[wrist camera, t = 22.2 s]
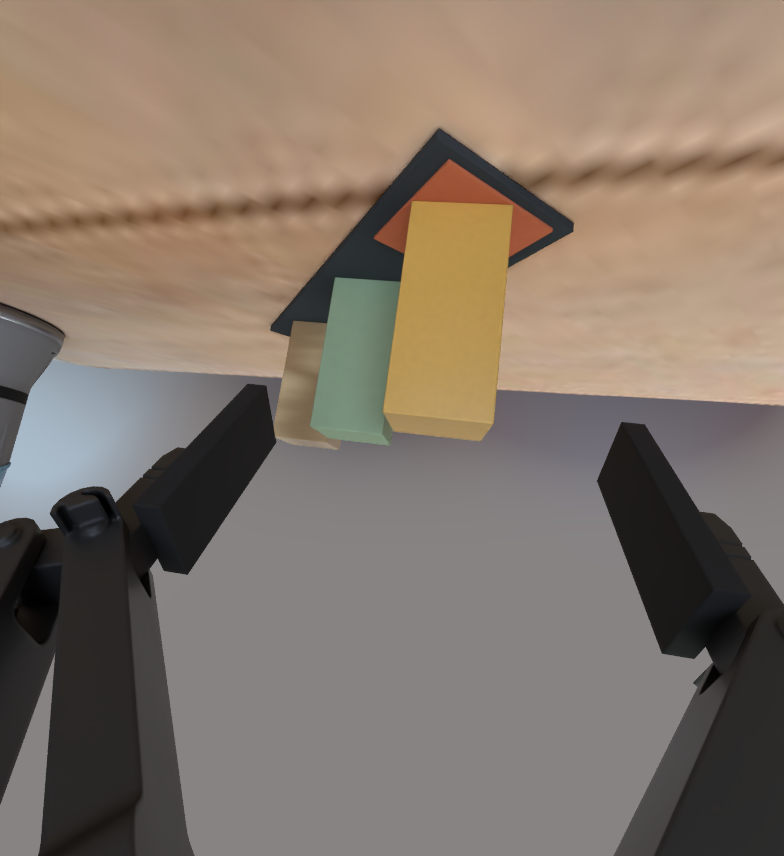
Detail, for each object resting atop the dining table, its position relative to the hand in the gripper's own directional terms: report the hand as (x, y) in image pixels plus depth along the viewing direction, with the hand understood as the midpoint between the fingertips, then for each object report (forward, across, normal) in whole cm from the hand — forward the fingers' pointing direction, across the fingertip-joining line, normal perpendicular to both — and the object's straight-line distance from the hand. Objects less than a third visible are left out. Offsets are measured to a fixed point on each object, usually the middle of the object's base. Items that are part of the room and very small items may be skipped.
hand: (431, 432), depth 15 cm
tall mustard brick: (+12, 0, +5) cm, 13 cm away
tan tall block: (+24, -12, -6) cm, 27 cm away
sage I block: (+18, -6, -1) cm, 19 cm away
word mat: (+18, -6, 0) cm, 19 cm away
